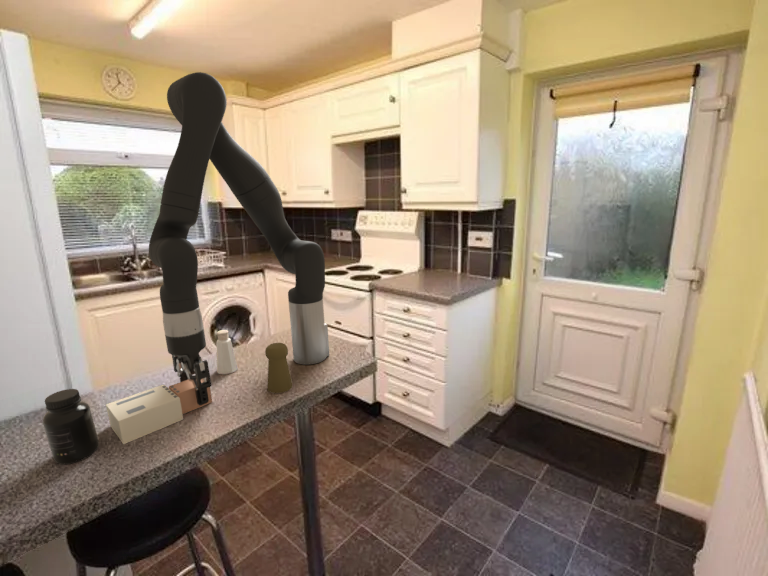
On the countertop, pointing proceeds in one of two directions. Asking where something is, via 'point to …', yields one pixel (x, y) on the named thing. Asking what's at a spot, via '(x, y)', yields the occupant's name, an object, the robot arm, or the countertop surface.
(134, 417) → the cream box
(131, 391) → the countertop surface
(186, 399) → the orange box
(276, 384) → the brown pawn
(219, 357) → the salt shaker
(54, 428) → the supplement bottle
